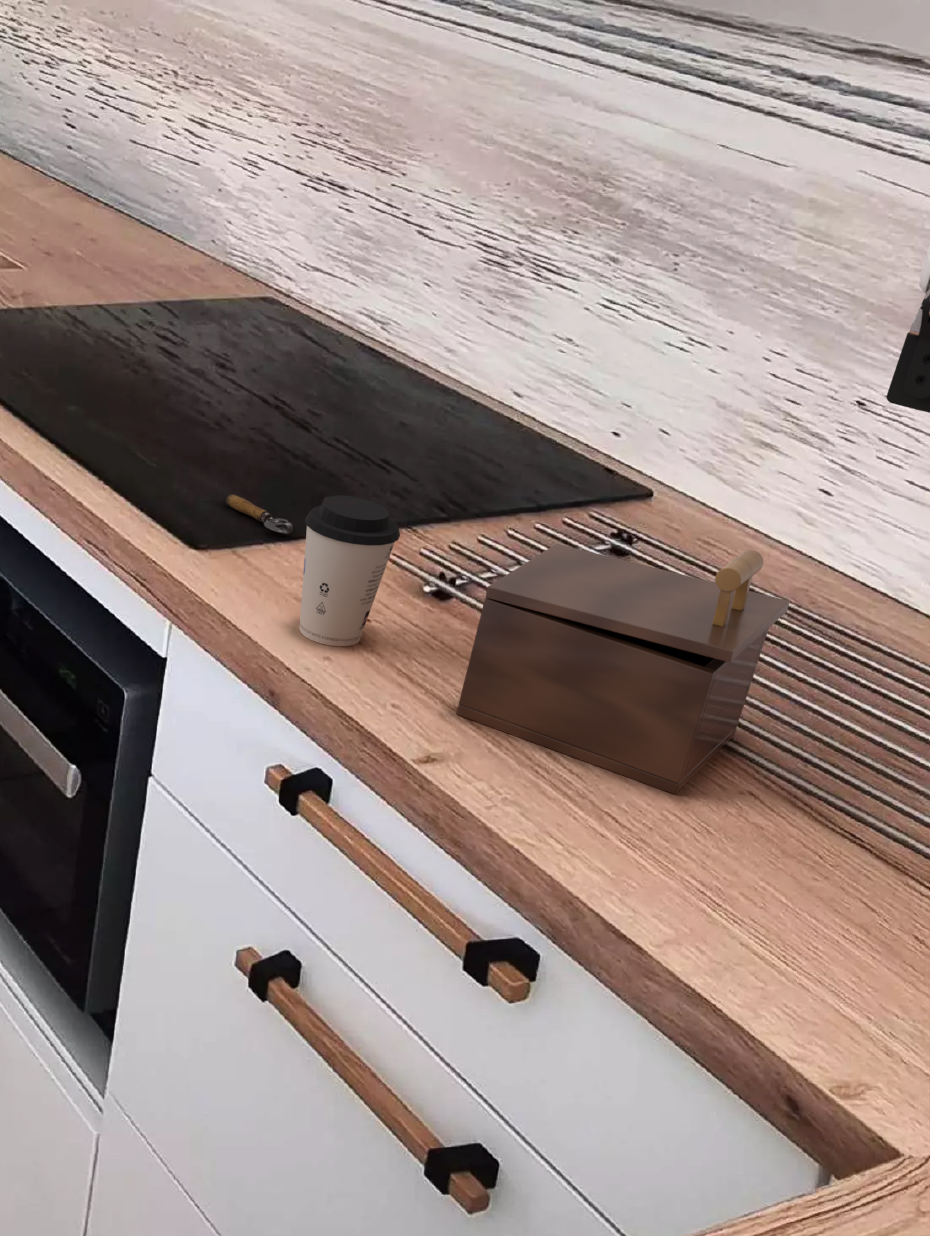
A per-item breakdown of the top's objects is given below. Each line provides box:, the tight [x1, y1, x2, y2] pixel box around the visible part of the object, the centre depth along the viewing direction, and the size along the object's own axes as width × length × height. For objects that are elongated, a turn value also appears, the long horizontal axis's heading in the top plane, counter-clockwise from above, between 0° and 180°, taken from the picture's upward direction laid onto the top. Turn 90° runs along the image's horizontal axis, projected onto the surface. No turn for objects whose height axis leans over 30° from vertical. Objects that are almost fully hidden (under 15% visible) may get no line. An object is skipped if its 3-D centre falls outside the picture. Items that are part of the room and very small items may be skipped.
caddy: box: [456, 597, 770, 795], centre depth 137 cm, size 16×13×9 cm
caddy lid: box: [485, 543, 791, 662], centre depth 133 cm, size 16×13×5 cm
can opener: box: [225, 494, 294, 535], centre depth 169 cm, size 9×2×1 cm, turn 22°
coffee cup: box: [298, 495, 401, 647], centre depth 147 cm, size 7×7×10 cm
